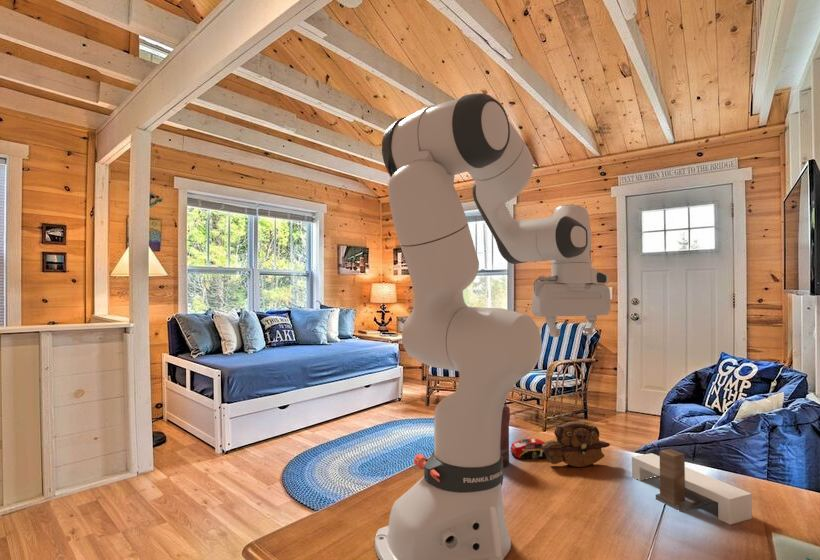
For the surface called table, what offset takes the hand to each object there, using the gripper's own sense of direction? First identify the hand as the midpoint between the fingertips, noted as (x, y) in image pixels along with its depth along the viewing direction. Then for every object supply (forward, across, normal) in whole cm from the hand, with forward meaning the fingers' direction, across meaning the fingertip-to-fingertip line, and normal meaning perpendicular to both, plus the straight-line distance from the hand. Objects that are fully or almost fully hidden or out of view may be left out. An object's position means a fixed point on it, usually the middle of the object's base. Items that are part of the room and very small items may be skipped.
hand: (571, 335), depth 102 cm
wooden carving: (+31, +3, +2) cm, 32 cm away
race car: (+32, -2, +11) cm, 33 cm away
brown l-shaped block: (+31, +12, -19) cm, 38 cm away
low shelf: (+31, +13, -18) cm, 38 cm away
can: (+31, -14, +10) cm, 36 cm away
